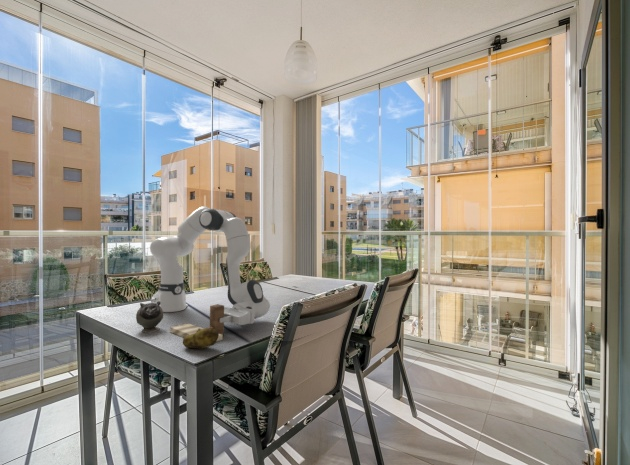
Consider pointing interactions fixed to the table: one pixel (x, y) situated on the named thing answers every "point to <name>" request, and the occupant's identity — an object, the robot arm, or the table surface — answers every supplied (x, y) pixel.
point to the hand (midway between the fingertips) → (215, 319)
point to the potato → (201, 338)
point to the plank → (188, 330)
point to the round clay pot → (149, 316)
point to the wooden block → (216, 318)
